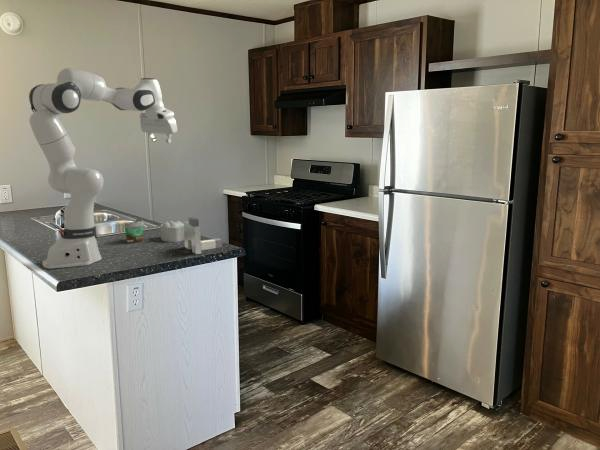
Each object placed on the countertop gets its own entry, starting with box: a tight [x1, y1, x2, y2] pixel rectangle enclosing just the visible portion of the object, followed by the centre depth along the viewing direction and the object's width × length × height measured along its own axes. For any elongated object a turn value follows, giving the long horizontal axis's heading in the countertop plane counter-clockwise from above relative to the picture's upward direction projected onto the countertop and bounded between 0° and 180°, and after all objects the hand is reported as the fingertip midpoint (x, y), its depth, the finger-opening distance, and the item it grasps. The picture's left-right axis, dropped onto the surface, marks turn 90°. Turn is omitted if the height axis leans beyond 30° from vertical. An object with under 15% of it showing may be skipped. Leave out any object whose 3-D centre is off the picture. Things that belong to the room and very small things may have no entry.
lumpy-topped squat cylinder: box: [159, 220, 185, 243], centre depth 251 cm, size 10×13×9 cm
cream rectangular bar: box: [201, 237, 223, 251], centre depth 231 cm, size 12×4×4 cm, turn 121°
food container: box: [123, 218, 145, 244], centre depth 246 cm, size 12×6×10 cm, turn 168°
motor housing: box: [183, 216, 202, 255], centre depth 227 cm, size 2×15×15 cm, turn 31°
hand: (161, 141), depth 242 cm, fingers open, 8 cm apart
